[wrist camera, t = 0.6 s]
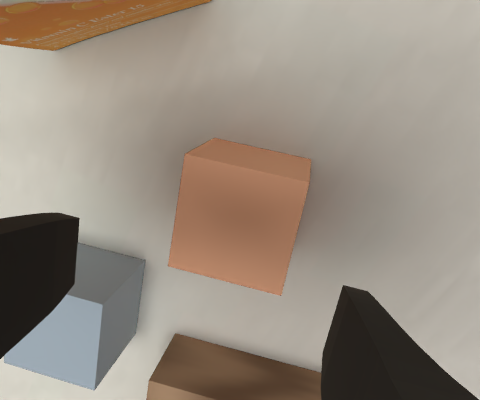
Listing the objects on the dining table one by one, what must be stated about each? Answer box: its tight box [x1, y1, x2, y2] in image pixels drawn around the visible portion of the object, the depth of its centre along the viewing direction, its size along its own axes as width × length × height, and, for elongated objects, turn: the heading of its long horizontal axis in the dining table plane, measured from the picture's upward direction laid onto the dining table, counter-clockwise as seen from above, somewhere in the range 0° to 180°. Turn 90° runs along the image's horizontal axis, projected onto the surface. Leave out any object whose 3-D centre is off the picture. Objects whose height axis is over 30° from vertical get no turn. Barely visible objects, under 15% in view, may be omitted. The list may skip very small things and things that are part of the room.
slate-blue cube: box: [4, 243, 145, 390], centre depth 20 cm, size 4×4×4 cm
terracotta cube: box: [168, 138, 311, 296], centre depth 17 cm, size 4×4×4 cm
